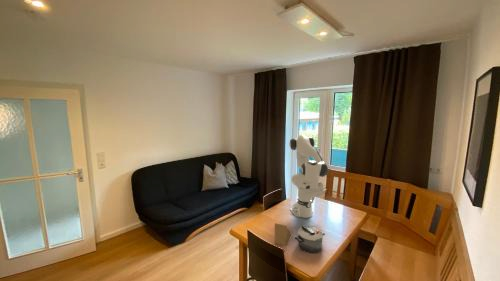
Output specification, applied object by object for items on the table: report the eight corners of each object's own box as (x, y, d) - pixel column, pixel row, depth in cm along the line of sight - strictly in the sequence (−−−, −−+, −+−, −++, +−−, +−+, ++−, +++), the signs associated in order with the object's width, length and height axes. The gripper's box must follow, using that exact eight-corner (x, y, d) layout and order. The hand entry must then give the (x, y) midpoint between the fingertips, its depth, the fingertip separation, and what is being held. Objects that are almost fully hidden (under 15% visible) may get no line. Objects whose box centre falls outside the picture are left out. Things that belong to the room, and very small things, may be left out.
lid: (293, 231, 149) (293, 227, 149) (311, 225, 156) (311, 222, 156) (309, 244, 134) (309, 239, 134) (328, 237, 141) (329, 233, 141)
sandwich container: (292, 235, 160) (292, 216, 159) (286, 246, 147) (286, 226, 145) (281, 232, 164) (281, 214, 162) (274, 243, 150) (274, 223, 149)
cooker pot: (290, 243, 149) (290, 232, 148) (314, 236, 158) (314, 225, 157) (305, 257, 135) (305, 244, 134) (330, 248, 144) (330, 236, 143)
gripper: (319, 180, 152) (318, 198, 154) (296, 184, 144) (296, 203, 146) (326, 183, 147) (325, 202, 149) (302, 187, 138) (302, 207, 140)
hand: (310, 202), depth 147 cm, fingers closed
